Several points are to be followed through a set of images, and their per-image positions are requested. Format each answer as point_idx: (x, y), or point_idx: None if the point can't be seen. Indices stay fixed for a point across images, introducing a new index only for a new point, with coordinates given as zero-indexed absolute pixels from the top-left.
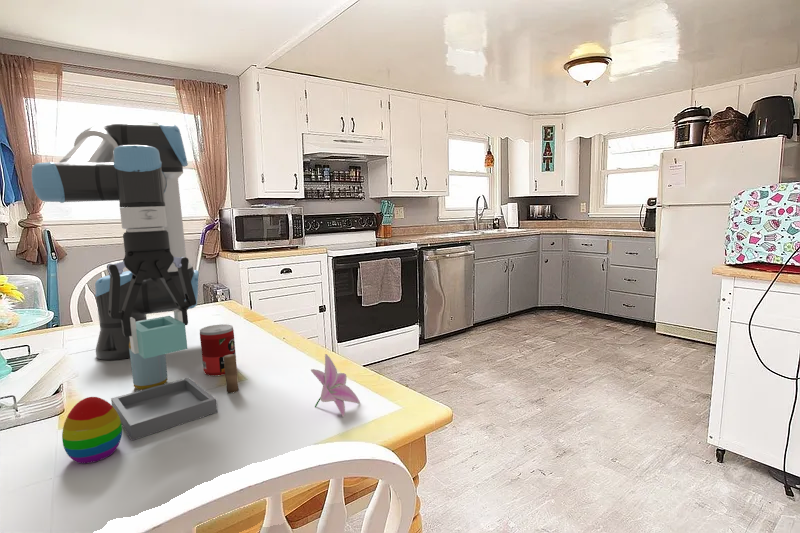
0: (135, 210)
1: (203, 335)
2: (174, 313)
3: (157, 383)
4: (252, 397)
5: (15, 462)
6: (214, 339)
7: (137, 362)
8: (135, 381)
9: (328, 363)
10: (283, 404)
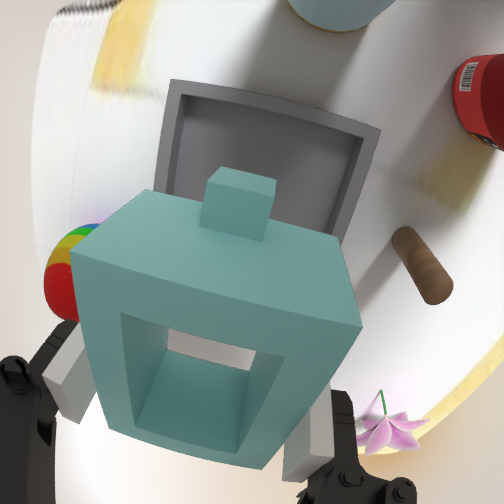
0: None
1: None
2: (305, 441)
3: (331, 30)
4: (388, 300)
5: (37, 169)
6: None
7: None
8: None
9: (407, 445)
10: (377, 358)
